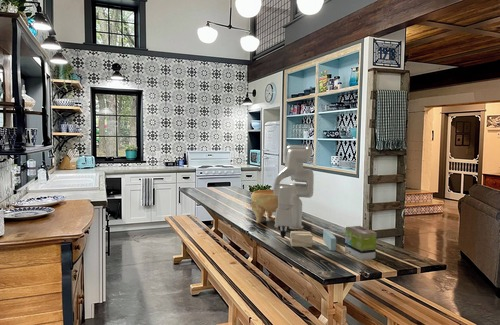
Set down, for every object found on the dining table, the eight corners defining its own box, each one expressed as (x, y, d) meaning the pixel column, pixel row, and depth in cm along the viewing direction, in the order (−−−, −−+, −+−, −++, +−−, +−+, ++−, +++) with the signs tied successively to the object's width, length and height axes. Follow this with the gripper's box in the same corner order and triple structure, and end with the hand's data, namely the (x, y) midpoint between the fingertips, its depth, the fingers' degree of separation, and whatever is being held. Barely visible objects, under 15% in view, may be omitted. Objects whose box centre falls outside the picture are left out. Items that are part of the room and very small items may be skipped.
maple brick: (290, 242, 225) (290, 231, 224) (309, 243, 225) (310, 231, 224) (291, 246, 217) (292, 234, 216) (312, 247, 217) (312, 235, 216)
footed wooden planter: (294, 217, 296) (295, 188, 294) (295, 227, 261) (297, 195, 260) (252, 214, 299) (253, 186, 298) (248, 224, 265) (249, 193, 263)
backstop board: (322, 240, 231) (323, 229, 231) (327, 240, 231) (328, 229, 231) (330, 250, 211) (331, 238, 211) (335, 250, 211) (336, 238, 211)
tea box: (343, 251, 210) (345, 226, 209) (358, 250, 213) (359, 225, 212) (360, 260, 196) (362, 233, 195) (375, 258, 199) (377, 231, 198)
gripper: (295, 206, 223) (294, 235, 224) (271, 205, 223) (270, 235, 224) (297, 208, 215) (296, 239, 217) (272, 207, 215) (270, 238, 216)
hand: (282, 237), depth 220 cm, fingers closed
